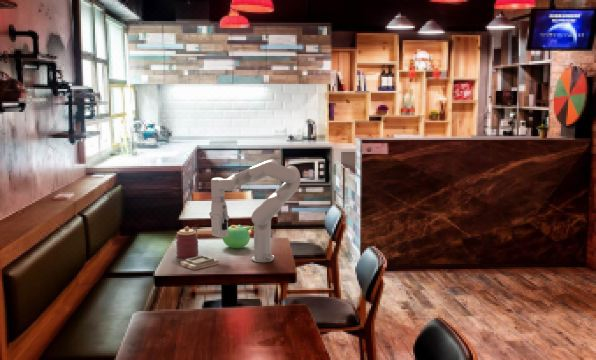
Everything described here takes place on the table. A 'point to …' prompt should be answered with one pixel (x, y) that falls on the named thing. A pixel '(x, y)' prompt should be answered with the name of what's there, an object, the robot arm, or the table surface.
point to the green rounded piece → (237, 236)
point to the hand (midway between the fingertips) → (219, 228)
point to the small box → (218, 226)
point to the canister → (187, 243)
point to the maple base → (199, 262)
